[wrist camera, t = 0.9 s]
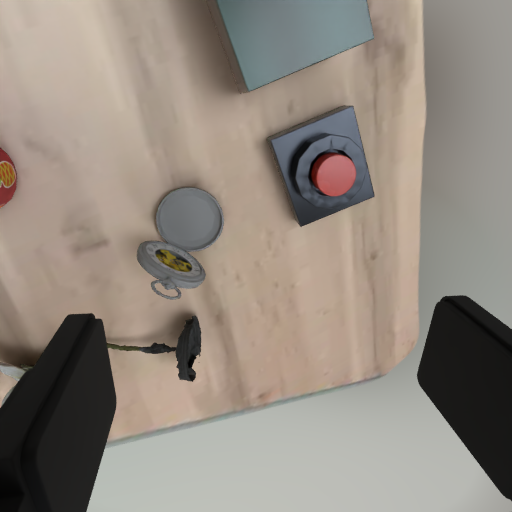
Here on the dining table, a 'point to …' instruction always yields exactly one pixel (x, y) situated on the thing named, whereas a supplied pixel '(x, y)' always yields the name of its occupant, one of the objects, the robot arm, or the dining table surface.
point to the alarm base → (305, 155)
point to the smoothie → (6, 178)
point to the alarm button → (333, 174)
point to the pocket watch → (181, 238)
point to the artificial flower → (184, 352)
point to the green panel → (290, 34)
